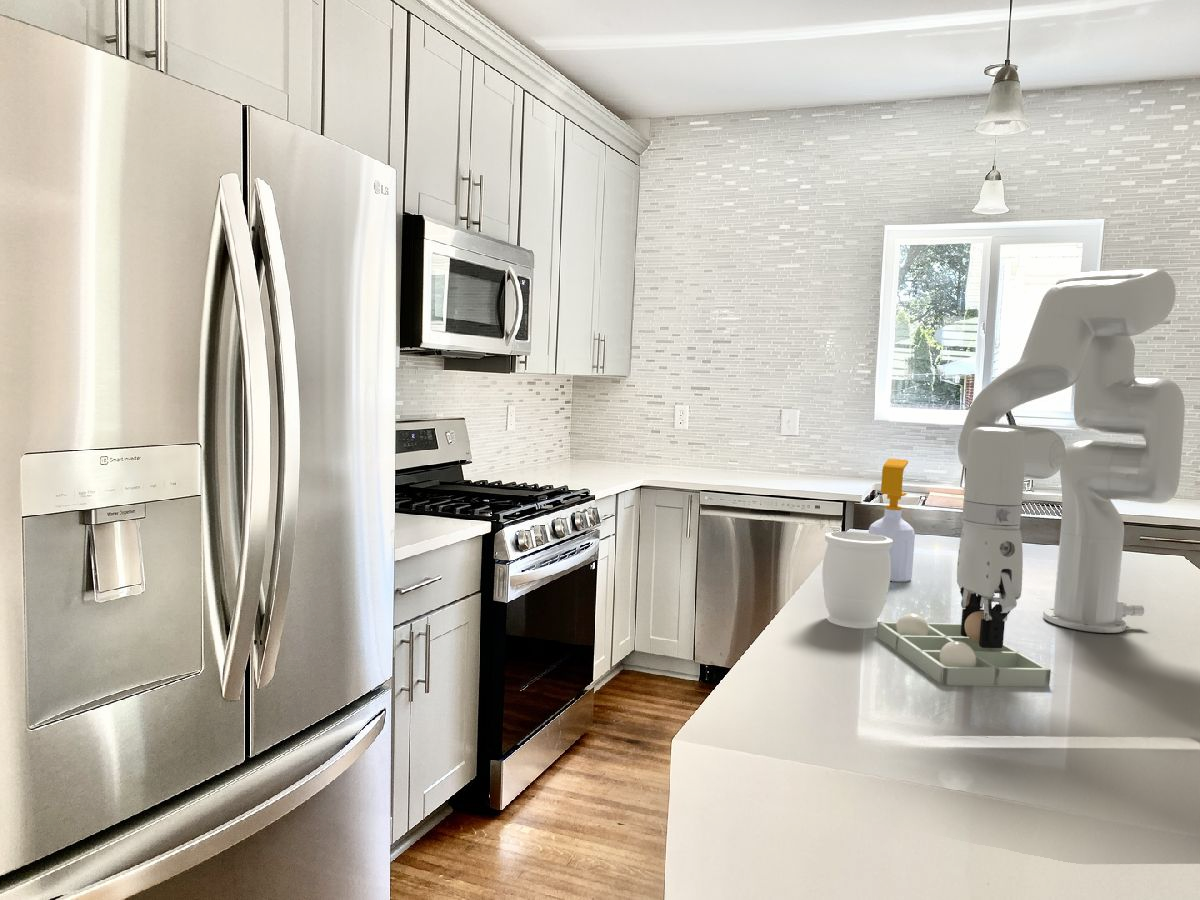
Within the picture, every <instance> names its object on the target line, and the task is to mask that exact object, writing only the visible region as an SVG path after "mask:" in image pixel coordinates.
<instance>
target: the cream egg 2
mask: <svg viewBox="0 0 1200 900" xmlns="http://www.w3.org/2000/svg"><path fill="white" fill-rule="evenodd" d="M939 660H940V663H941V664H943V665H944V666H946V667H975V665H976V655H975V653H974V651H973V649H972V648H971V647H970V646H969V645H967V644H966V643H964V642H961V641H952V642H949V643H947V644H945V645H944V646H943V647H942V649H941V651H940V654H939Z"/></svg>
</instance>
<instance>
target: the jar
mask: <svg viewBox="0 0 1200 900" xmlns="http://www.w3.org/2000/svg"><path fill="white" fill-rule="evenodd" d="M824 540H825V541H826V543H827V545H826V546H827V547H826V549H825V552H824V556H823V561H822V569H821V570H822V571H821V572H822V575H821V576H822V578H821V579H822V587H823V599H824V604H825V608H826V610H827V613H828V614H829V615H828V616H827V618H826V619H827V621H828V622H830V623H831V624H834V625H837V626H842V627H846V628H850V629H851V628H852V629H873V628H877V626H878V622H879V621H878V619H879V618H880V617H881V615H882V612H883V611H884V608H885V606H886V601H887V597H888V596H887V595H888V594H889V593H888V592H889V589H890V584H891V582H890V577H891V563H890V555H889V551H888V550H889V548H890V547H891V546H892V545H893V540H892V539H891V538H888V537H884V536H880V535H875V534H869V532H859V531H831V532H826V533H825V535H824Z"/></svg>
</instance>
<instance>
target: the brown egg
mask: <svg viewBox="0 0 1200 900" xmlns="http://www.w3.org/2000/svg"><path fill="white" fill-rule="evenodd" d="M981 619H985V618H984V611H976V612H973V613H972V614H970V615H969V616H968V617H967V619H966V621H965V632H966V634H967V636H968V637H969V638H970V639H971V640H972V641H974V642H976V643H979V638H980V626H981Z"/></svg>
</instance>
